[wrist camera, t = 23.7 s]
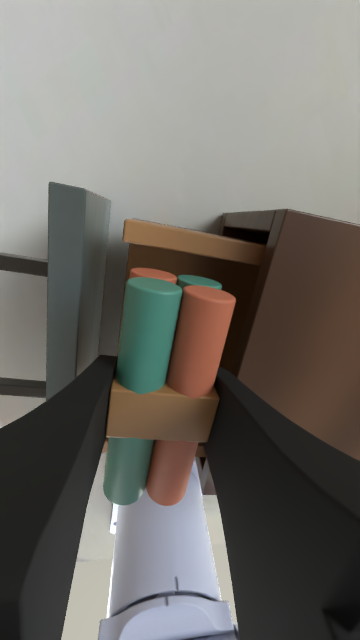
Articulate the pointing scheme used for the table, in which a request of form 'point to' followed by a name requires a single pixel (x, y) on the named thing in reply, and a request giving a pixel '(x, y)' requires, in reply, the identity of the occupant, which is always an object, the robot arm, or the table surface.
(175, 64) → the table surface
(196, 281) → the teal and pink cylinders
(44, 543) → the robot arm
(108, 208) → the drawer
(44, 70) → the table surface
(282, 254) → the cabinet
